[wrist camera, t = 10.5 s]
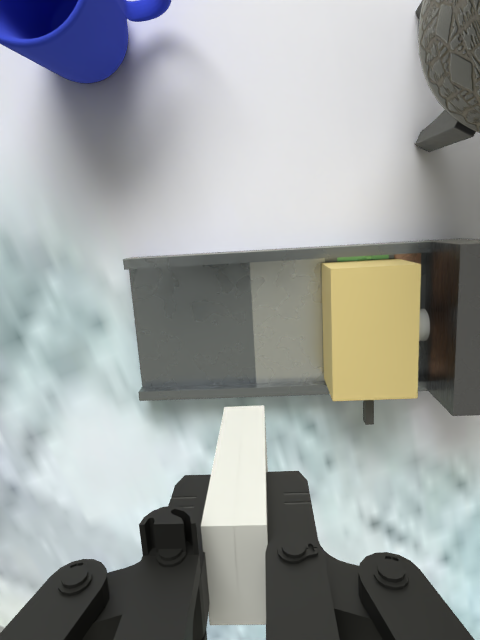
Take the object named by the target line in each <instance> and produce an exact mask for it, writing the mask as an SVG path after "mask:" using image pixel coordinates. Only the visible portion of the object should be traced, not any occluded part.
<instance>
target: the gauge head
mask: <svg viewBox="0 0 480 640" xmlns="http://www.w3.org/2000/svg"><path fill="white" fill-rule="evenodd" d="M321 267H322V315H323V364H324V379H325V382H326V385H327V387H328V390H329V392H330V395H331V398H332V400H333V401H353V400H363V420H364V422H365V424H366V425H368V424H374V400H383V399H412V398H417V396H418V360H419V341H426V340H427V339H428V337H429V333H430V320H429V316H428V313H427V311H426V310H425V309H420V287H421V264H418V263H414V262H410V261H406V260H402V259H382V260H364V261H346V262H328V263H321Z"/></svg>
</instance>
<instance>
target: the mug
mask: <svg viewBox="0 0 480 640" xmlns="http://www.w3.org/2000/svg"><path fill="white" fill-rule="evenodd" d="M170 3H171V0H139V1H132V2H131V1H126V0H0V44H2V45H4V46H6V47H8V48H9V49H11V50H13V51H15V52H17V53H19V54H21V55H22V56H24V57H26V58H28V59H30V60H32V61H34V62H35V63H37V64H39V65H41V66H43V67H45V68H47V69H49V70H50V71H52V72H54V73H56V74H58V75H60V76H62V77H64V78H66V79H68V80H71V81H74V82H79V83H94V82H98V81H101V80H104V79H106V78H107V77H109V76H110V75H112V74H113V73H114V72H115V71H116V70H117V69H118V67H119V66H120V65H121V63H122V61H123V59H124V57H125V54H126V51H127V46H128V26H127V19H129V20H130V21H135V22H141V21H147V20H151V19H154V18H156V17H159V16H160V15H162V14H163V13H164V12H165V11H166V10H167V9H168V7H169V6H170Z"/></svg>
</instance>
